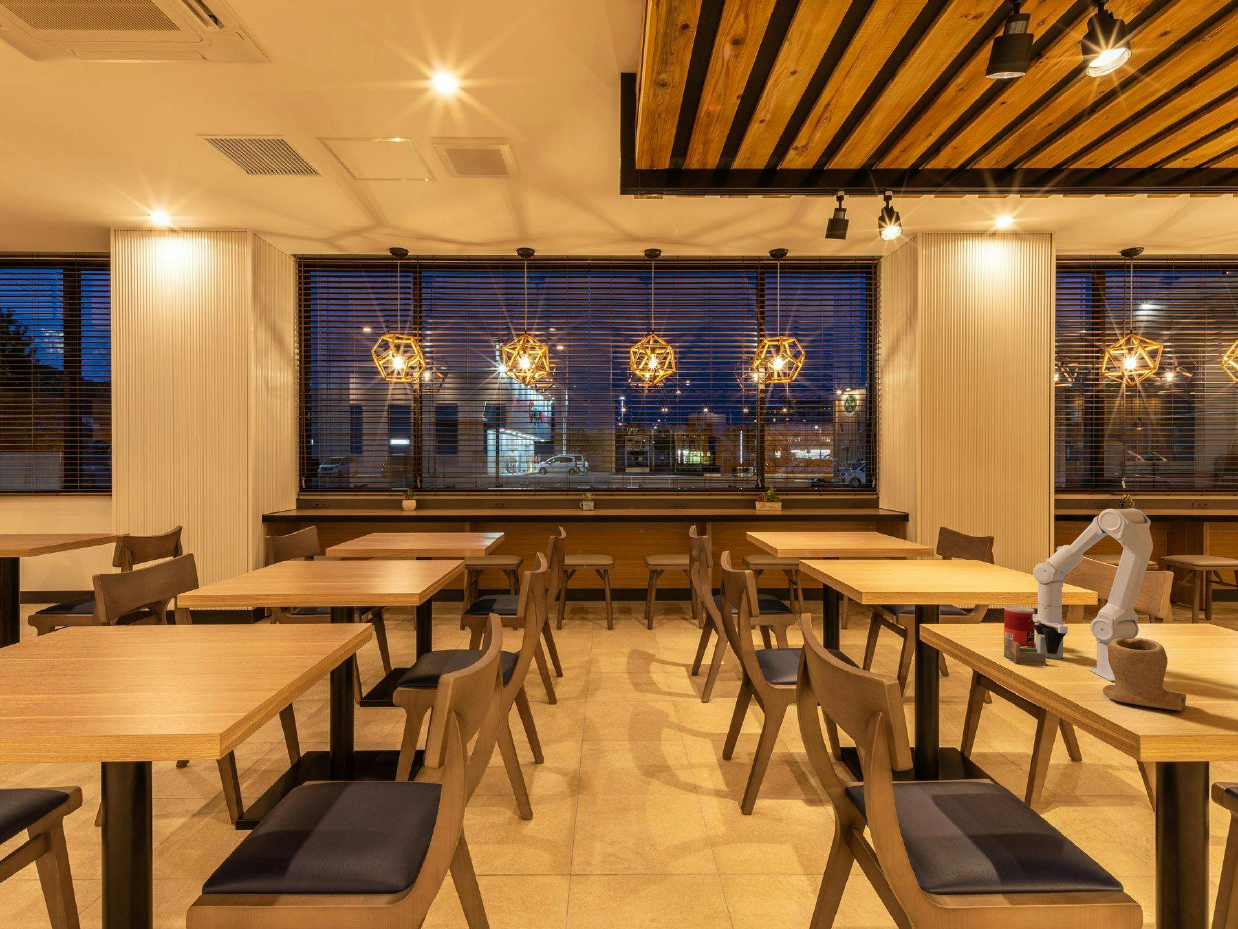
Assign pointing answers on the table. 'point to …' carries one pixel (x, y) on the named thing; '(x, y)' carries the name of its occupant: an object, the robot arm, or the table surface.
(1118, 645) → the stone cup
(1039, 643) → the grey square block
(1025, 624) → the canned food
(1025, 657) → the grey stepped holder
